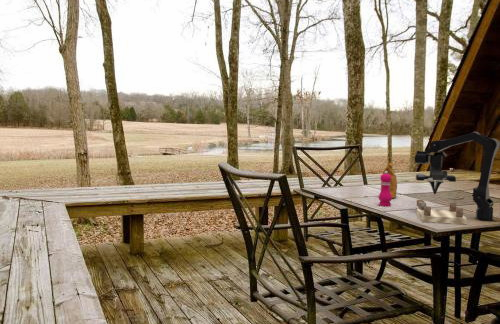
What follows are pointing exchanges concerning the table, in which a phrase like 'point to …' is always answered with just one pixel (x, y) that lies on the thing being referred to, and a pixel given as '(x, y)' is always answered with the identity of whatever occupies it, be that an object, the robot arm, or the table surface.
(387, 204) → the pepper mill
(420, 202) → the hinged leg
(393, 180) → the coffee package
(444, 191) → the table surface
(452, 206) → the stool seat
